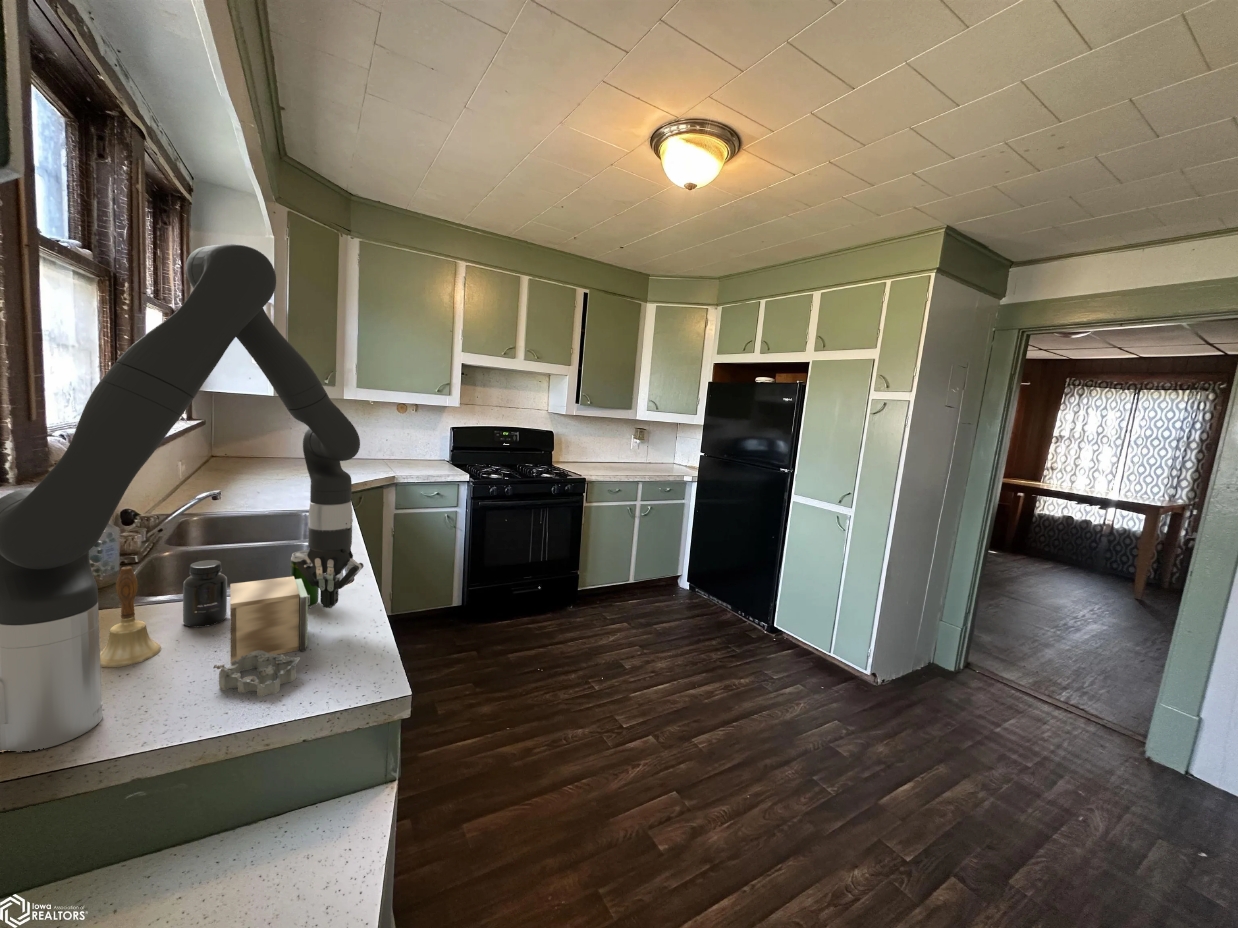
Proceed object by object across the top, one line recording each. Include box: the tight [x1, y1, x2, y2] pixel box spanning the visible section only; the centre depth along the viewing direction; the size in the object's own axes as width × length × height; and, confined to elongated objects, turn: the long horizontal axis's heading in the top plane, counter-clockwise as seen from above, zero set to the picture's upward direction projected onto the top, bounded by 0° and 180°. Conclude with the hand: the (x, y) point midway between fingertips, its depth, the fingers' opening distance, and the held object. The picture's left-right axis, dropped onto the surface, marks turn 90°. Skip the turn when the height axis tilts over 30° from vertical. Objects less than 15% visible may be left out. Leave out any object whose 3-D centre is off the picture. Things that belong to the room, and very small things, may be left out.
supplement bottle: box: [182, 559, 228, 628], centre depth 99 cm, size 7×7×12 cm
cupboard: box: [229, 576, 306, 664], centre depth 92 cm, size 11×11×11 cm
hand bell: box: [100, 566, 162, 668], centre depth 85 cm, size 8×8×16 cm
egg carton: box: [213, 650, 301, 697], centre depth 82 cm, size 11×8×4 cm
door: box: [295, 579, 309, 648], centre depth 96 cm, size 2×10×10 cm, turn 39°
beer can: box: [289, 549, 320, 609], centre depth 110 cm, size 5×5×12 cm
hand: (329, 606), depth 100 cm, fingers closed
